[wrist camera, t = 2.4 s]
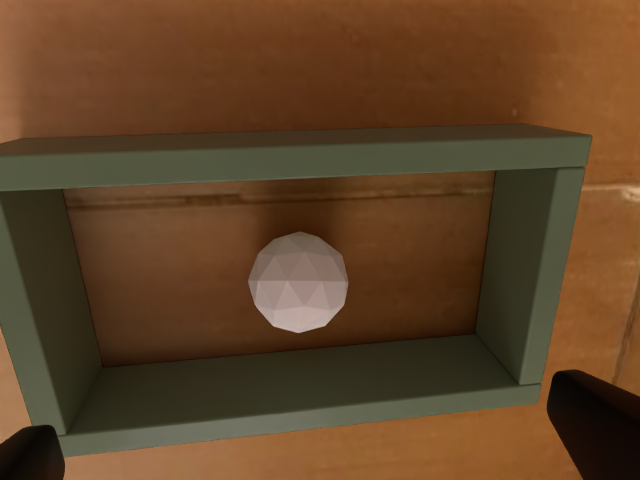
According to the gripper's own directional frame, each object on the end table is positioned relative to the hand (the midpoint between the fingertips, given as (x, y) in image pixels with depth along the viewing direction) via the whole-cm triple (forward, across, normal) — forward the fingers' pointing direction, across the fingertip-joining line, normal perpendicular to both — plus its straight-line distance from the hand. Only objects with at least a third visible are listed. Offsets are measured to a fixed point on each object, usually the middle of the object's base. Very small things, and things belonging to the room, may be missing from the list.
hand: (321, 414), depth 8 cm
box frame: (+7, 0, 0) cm, 7 cm away
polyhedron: (+7, 0, 0) cm, 7 cm away
